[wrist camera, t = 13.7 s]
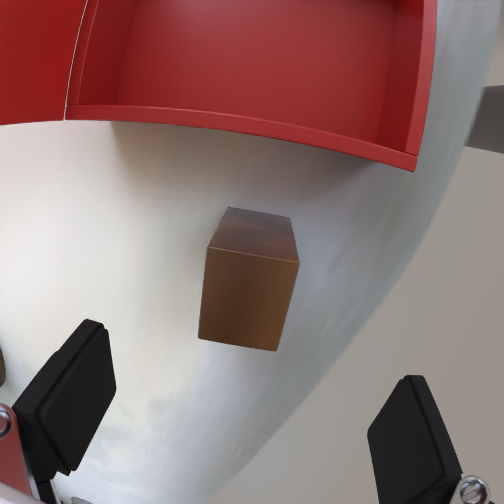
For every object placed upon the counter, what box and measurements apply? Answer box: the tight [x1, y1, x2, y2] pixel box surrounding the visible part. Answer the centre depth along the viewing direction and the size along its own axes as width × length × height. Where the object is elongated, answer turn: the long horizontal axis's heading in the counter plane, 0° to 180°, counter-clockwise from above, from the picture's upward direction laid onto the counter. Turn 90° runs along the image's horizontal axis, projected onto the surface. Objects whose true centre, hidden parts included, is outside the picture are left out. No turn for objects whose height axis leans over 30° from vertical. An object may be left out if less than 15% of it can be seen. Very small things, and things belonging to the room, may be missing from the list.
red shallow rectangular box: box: [65, 0, 437, 172], centre depth 13 cm, size 18×14×5 cm
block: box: [198, 207, 300, 351], centre depth 18 cm, size 4×5×7 cm
